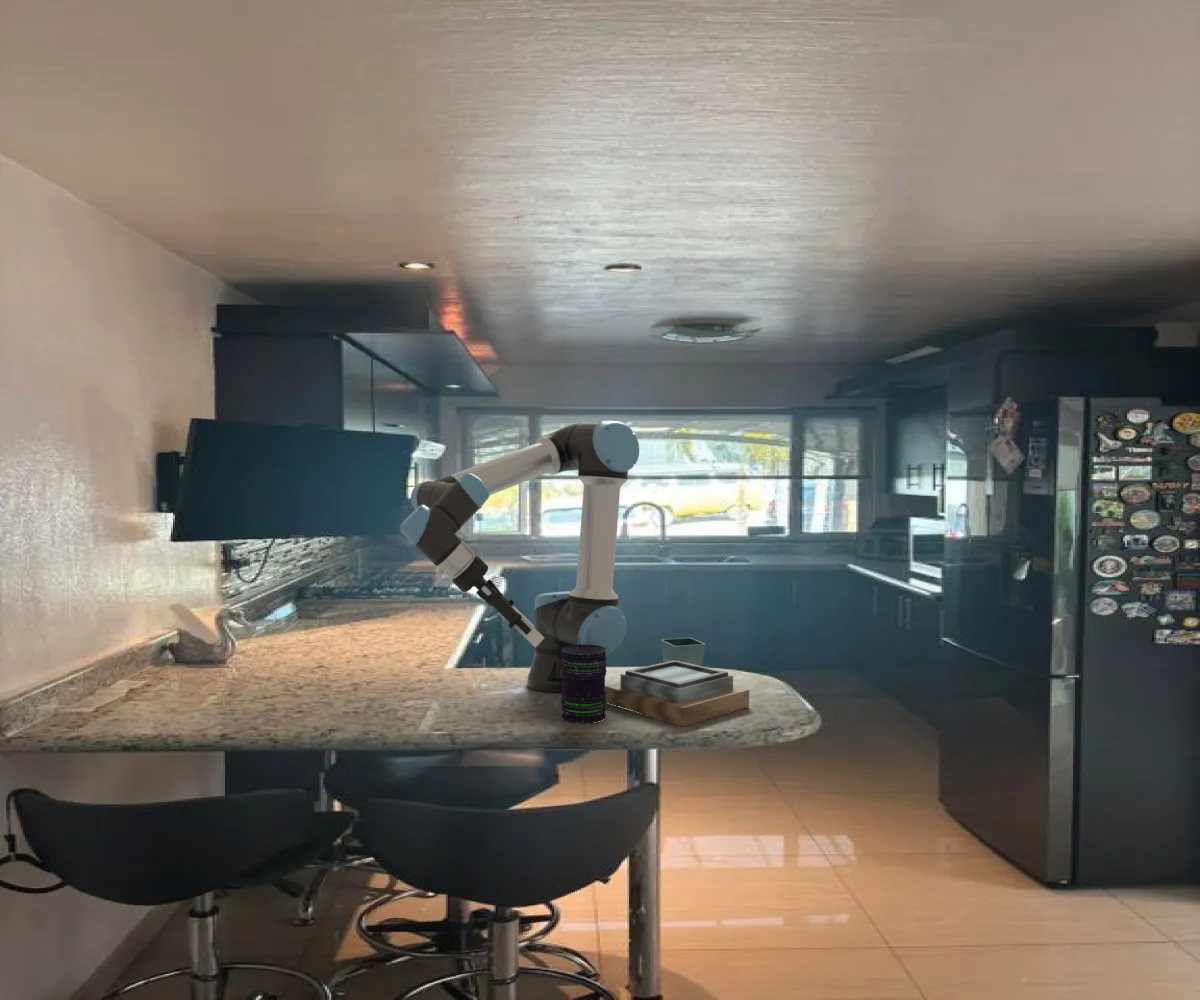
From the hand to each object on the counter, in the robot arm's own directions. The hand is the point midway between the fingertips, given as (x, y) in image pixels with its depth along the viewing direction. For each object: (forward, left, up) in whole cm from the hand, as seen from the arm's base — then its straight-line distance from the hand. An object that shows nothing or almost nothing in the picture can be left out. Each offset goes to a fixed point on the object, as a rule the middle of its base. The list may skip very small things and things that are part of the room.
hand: (534, 636), depth 198 cm
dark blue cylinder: (+5, +9, -18) cm, 21 cm away
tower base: (+12, +31, -18) cm, 38 cm away
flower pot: (-6, +53, -18) cm, 57 cm away
